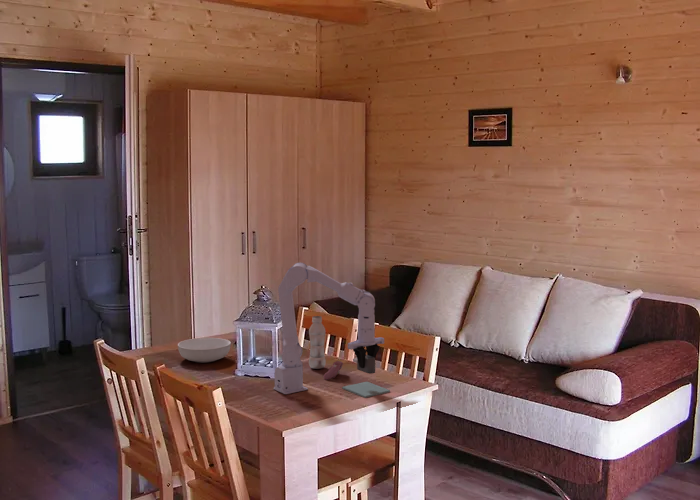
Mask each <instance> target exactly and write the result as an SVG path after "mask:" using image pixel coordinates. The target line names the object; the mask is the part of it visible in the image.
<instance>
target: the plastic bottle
mask: <svg viewBox="0 0 700 500" xmlns="http://www.w3.org/2000/svg"><path fill="white" fill-rule="evenodd" d="M322 322H323V317H322V316H321V315H316V316H315V315H314V316H312V320H311V323H312V324H311V325H310V326H309V329H308V336H309V345H310V350H309V357H308V358H309V359H308V365H309V367H310V368H311V369H314V370H319V369H323V368H325V367H326V356H325V337H326V332H327V331H326V327H325V326H324V324H323V323H322Z"/></svg>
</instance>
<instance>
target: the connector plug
mask: <svg viewBox="0 0 700 500" xmlns="http://www.w3.org/2000/svg"><path fill="white" fill-rule="evenodd" d="M352 362H354V363H357V364H356V369H357V370H358V371H361V372H363V373H366V374H371V375H372V374H374V373H376V357H372V356H369V355H367V354H366V356H365V367H364V368H360V367H359V363H358V360H357V357H355V358H352Z"/></svg>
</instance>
